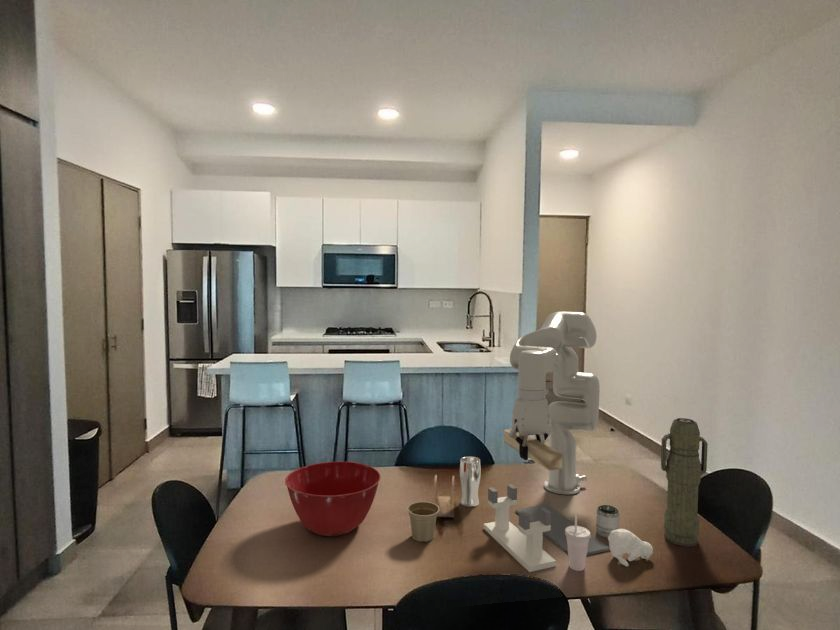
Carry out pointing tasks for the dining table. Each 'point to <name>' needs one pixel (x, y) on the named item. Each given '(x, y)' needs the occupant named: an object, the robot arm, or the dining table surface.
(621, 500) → the dining table surface
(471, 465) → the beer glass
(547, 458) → the rail
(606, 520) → the camera lens
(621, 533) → the white animal figurine
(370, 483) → the mixing bowl
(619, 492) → the dining table surface
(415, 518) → the flower pot
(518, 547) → the hook stand
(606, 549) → the mat
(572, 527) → the smoothie
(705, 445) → the thermos
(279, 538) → the dining table surface
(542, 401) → the robot arm
